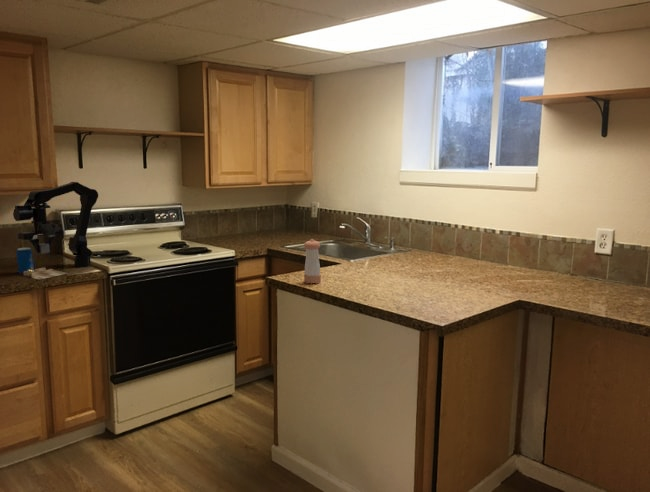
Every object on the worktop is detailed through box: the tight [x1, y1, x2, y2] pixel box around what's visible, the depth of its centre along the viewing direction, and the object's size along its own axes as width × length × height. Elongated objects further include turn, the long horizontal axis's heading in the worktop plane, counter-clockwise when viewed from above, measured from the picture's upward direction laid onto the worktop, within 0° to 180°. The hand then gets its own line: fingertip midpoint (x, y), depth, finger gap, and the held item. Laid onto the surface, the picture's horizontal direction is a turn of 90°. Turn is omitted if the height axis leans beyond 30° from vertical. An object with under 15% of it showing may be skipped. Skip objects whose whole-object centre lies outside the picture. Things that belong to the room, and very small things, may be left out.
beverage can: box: [16, 247, 35, 274], centre depth 260 cm, size 6×6×12 cm
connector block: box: [35, 242, 51, 255], centre depth 255 cm, size 4×4×4 cm
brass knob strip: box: [24, 269, 34, 278], centre depth 251 cm, size 2×5×3 cm, turn 57°
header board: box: [22, 266, 69, 280], centre depth 255 cm, size 14×13×3 cm
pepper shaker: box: [303, 238, 322, 284], centre depth 242 cm, size 7×7×19 cm
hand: (43, 252), depth 255 cm, fingers closed on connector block, 4 cm apart
